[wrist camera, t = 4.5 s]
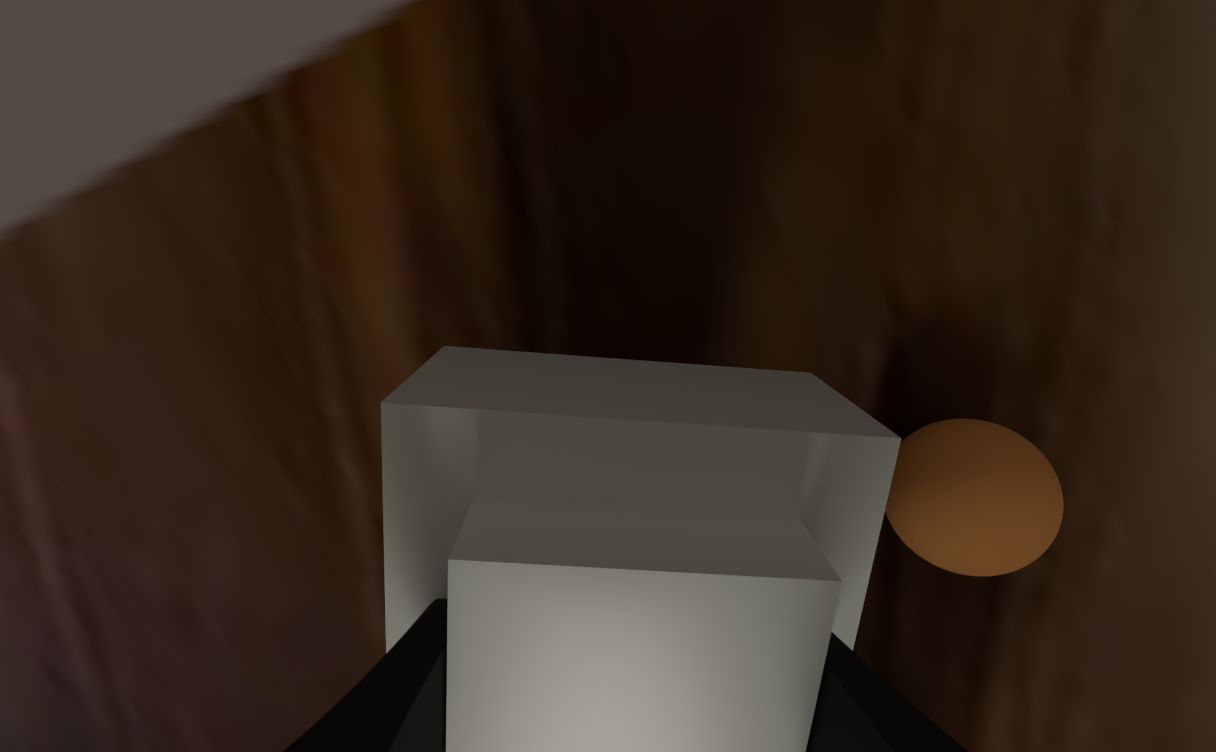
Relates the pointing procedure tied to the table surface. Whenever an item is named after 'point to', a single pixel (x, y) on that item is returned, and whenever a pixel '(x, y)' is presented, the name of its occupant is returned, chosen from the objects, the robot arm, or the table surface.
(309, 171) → the table surface
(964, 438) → the ball
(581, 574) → the white block
